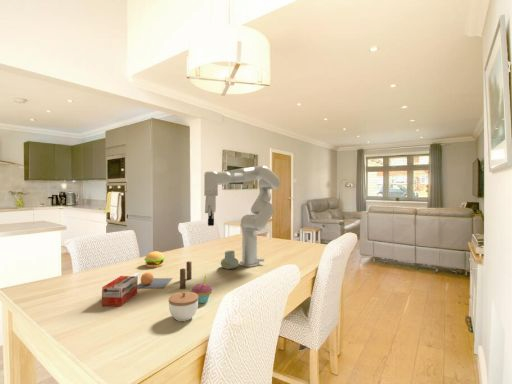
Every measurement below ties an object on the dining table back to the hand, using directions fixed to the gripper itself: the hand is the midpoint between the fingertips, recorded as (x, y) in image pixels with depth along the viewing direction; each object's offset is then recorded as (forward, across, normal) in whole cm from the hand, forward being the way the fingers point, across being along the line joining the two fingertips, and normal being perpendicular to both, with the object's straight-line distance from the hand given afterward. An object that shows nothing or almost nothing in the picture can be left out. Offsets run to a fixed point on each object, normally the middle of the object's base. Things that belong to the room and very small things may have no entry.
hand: (210, 225), depth 155 cm
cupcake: (+27, +39, +2) cm, 48 cm away
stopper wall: (+27, +17, -38) cm, 50 cm away
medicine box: (+28, +37, -33) cm, 57 cm away
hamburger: (+27, -15, -37) cm, 48 cm away
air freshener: (+27, -10, +10) cm, 31 cm away
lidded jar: (+27, +54, -2) cm, 61 cm away
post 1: (+27, +24, -10) cm, 37 cm away
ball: (+24, +19, -29) cm, 42 cm away
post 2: (+27, +10, -10) cm, 31 cm away
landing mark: (+27, +17, -26) cm, 41 cm away
